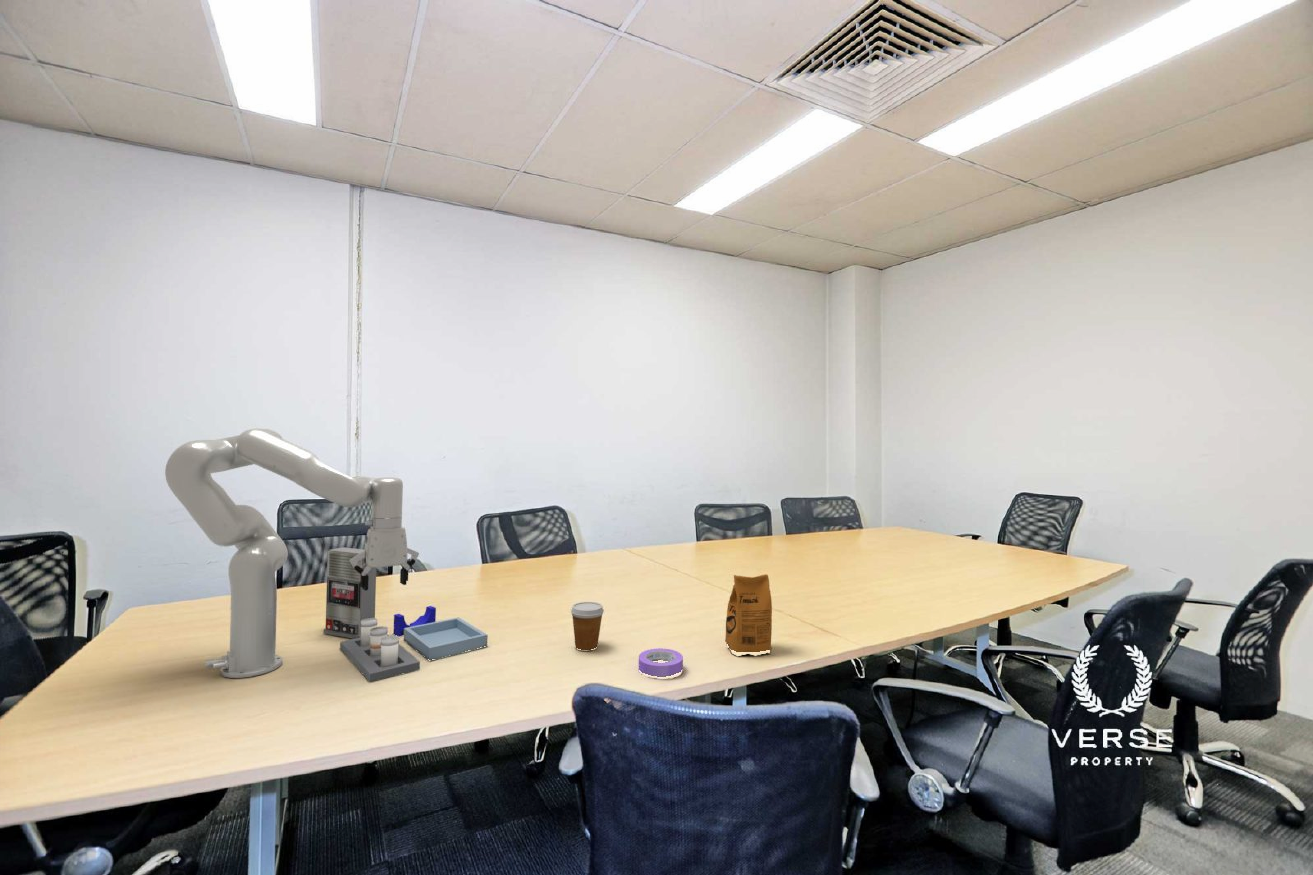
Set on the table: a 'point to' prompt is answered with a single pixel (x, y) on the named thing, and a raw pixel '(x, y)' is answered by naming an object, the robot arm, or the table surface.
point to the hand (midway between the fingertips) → (384, 586)
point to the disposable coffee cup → (586, 624)
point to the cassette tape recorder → (347, 594)
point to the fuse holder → (377, 661)
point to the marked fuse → (377, 639)
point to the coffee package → (749, 615)
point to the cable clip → (401, 624)
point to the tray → (444, 638)
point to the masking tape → (657, 668)
